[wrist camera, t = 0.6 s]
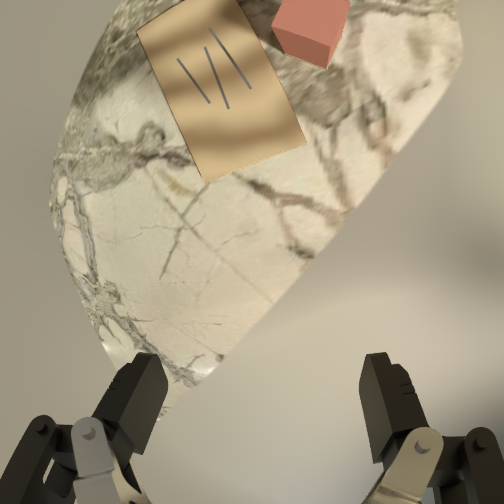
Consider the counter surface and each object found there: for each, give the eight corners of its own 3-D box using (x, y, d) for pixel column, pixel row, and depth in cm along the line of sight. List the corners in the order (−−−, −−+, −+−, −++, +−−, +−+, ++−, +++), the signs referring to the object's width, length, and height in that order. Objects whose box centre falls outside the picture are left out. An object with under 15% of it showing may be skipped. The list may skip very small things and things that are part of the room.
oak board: (141, 33, 25) (136, 31, 24) (226, -16, 20) (223, -20, 19) (209, 181, 32) (205, 183, 31) (306, 143, 28) (306, 144, 27)
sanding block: (285, 54, 24) (269, 26, 15) (300, 21, 22) (291, -18, 13) (326, 70, 24) (331, 47, 15) (341, 36, 21) (351, 2, 13)
